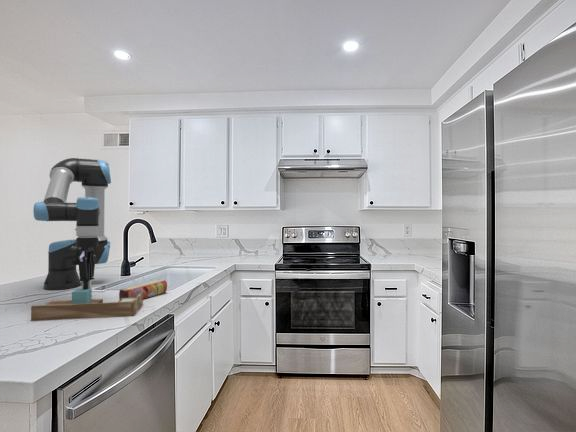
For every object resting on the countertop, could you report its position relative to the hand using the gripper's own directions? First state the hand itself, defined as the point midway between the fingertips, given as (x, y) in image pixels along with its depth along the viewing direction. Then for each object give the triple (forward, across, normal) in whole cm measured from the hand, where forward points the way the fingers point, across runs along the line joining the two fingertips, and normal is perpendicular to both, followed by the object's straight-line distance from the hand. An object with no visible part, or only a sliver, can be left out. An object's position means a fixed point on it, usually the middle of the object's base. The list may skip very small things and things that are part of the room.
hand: (86, 296), depth 127 cm
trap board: (+5, +4, +3) cm, 7 cm away
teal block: (+2, +3, -1) cm, 4 cm away
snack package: (+5, -14, +18) cm, 24 cm away
